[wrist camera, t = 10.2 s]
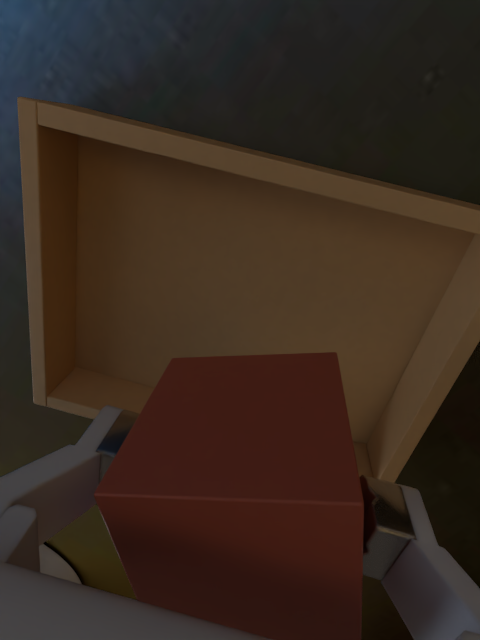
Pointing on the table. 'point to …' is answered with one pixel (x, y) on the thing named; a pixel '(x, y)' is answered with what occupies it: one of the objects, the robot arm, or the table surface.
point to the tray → (238, 271)
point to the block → (243, 497)
